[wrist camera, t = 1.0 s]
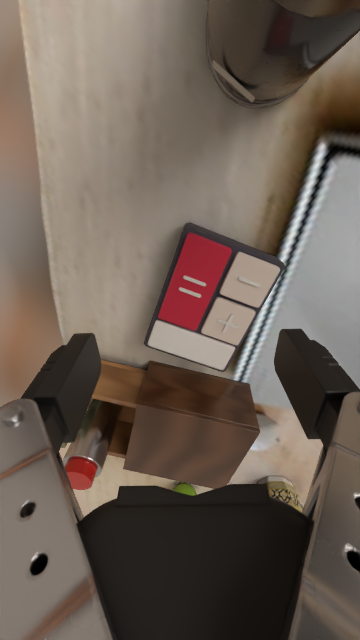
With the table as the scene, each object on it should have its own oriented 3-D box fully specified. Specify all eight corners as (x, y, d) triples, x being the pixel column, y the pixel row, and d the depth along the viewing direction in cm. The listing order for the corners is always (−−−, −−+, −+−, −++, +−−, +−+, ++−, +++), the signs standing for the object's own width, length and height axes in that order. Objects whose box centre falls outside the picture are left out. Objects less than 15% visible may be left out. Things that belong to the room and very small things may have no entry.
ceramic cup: (311, 485, 49) (334, 551, 41) (272, 503, 54) (285, 566, 45) (264, 457, 46) (278, 522, 37) (226, 478, 50) (231, 541, 42)
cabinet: (136, 421, 44) (123, 469, 37) (150, 360, 37) (137, 404, 30) (219, 440, 45) (223, 490, 38) (249, 384, 38) (260, 432, 31)
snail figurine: (176, 495, 55) (170, 569, 45) (169, 478, 52) (160, 554, 42) (201, 494, 54) (200, 569, 44) (194, 477, 51) (192, 554, 41)
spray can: (97, 381, 37) (54, 465, 27) (128, 388, 38) (97, 474, 27) (95, 402, 40) (55, 487, 29) (124, 409, 40) (94, 495, 29)
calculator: (289, 266, 25) (225, 377, 32) (277, 256, 29) (222, 357, 35) (184, 225, 24) (141, 349, 30) (186, 220, 28) (147, 331, 34)
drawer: (51, 404, 42) (27, 440, 37) (49, 343, 36) (20, 375, 30) (158, 428, 43) (152, 467, 38) (175, 373, 37) (170, 409, 31)
